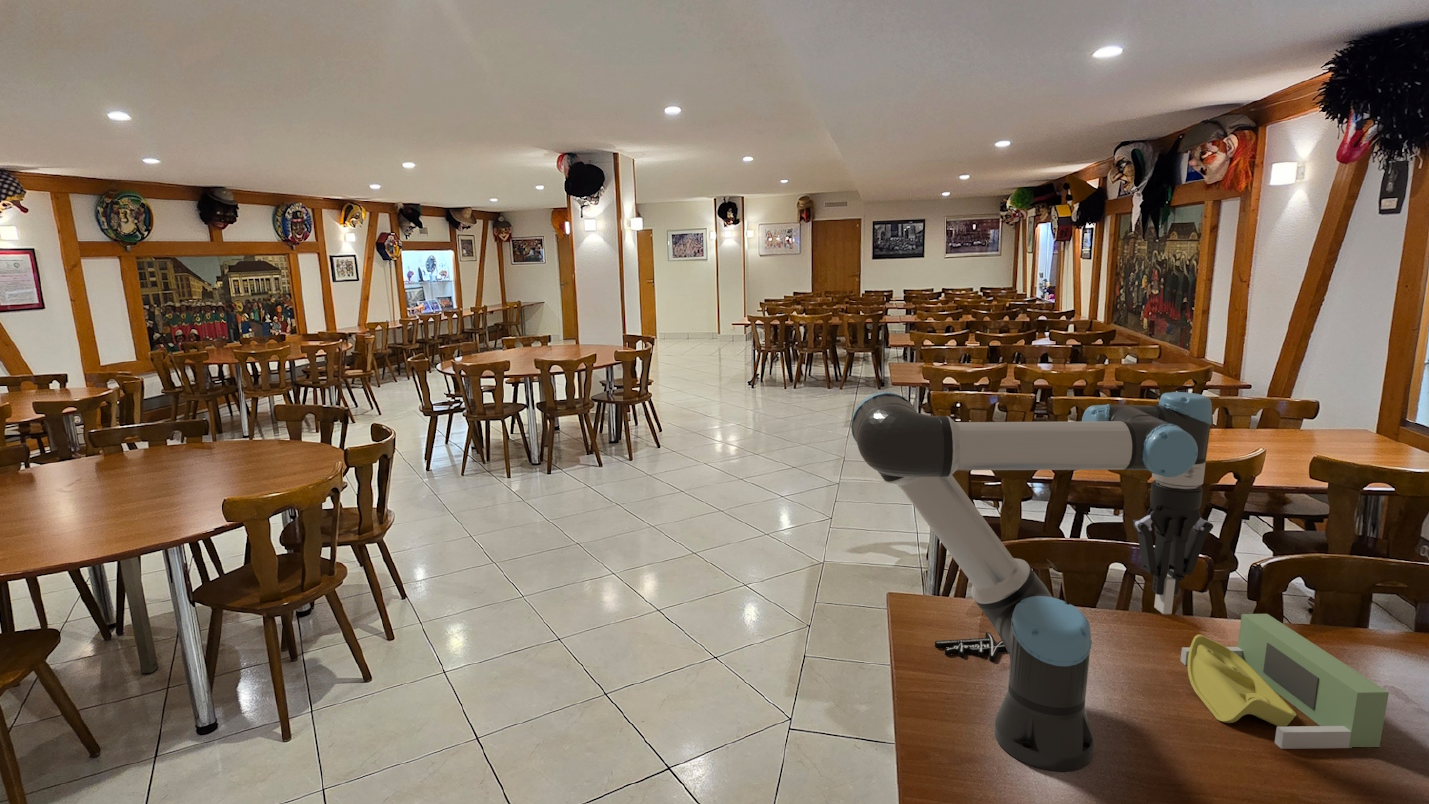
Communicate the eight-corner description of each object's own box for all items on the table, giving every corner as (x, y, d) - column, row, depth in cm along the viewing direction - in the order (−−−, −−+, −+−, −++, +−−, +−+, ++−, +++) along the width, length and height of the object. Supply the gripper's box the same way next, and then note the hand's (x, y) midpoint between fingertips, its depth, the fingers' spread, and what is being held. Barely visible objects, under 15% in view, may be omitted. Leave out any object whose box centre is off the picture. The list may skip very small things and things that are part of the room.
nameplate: (1053, 628, 160) (1080, 652, 150) (1053, 634, 160) (1079, 659, 150) (930, 635, 158) (948, 660, 148) (929, 642, 158) (948, 667, 148)
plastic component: (1302, 720, 125) (1249, 695, 125) (1275, 752, 128) (1223, 727, 127) (1237, 651, 144) (1191, 629, 144) (1214, 680, 147) (1168, 658, 146)
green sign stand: (1281, 748, 122) (1289, 693, 120) (1180, 661, 148) (1185, 614, 146) (1379, 747, 122) (1388, 692, 120) (1260, 660, 148) (1267, 613, 146)
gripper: (1151, 489, 124) (1137, 620, 128) (1230, 489, 123) (1213, 620, 128) (1127, 476, 131) (1114, 601, 135) (1201, 476, 131) (1186, 600, 135)
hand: (1162, 610), depth 132 cm, fingers closed
